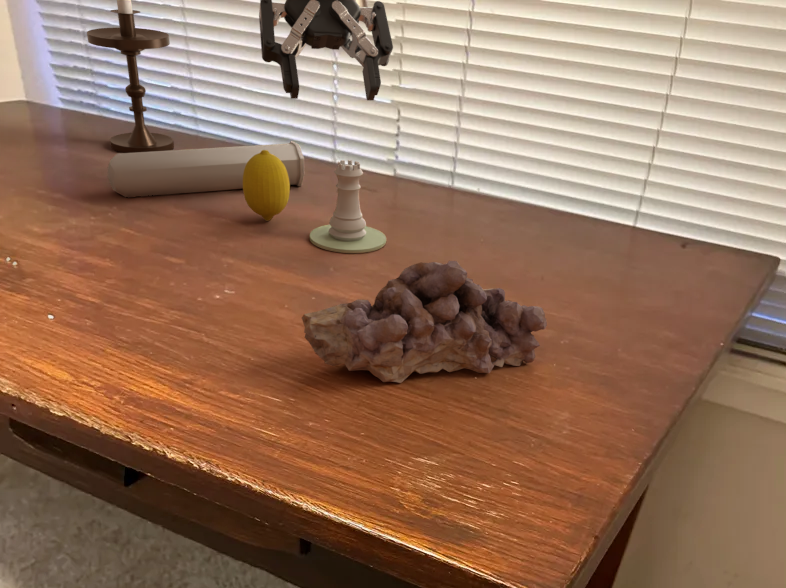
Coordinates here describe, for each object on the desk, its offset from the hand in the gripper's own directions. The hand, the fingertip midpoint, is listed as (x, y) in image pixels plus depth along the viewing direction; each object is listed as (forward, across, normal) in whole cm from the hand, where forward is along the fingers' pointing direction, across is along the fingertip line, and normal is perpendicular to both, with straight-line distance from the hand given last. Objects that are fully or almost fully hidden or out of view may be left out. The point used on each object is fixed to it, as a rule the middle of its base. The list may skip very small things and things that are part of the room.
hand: (334, 95), depth 89 cm
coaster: (+13, +1, +8) cm, 15 cm away
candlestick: (-17, -21, +38) cm, 46 cm away
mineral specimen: (+35, +1, -14) cm, 38 cm away
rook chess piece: (+12, +1, +8) cm, 15 cm away
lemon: (+8, -7, +13) cm, 17 cm away
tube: (-2, -13, +22) cm, 26 cm away
